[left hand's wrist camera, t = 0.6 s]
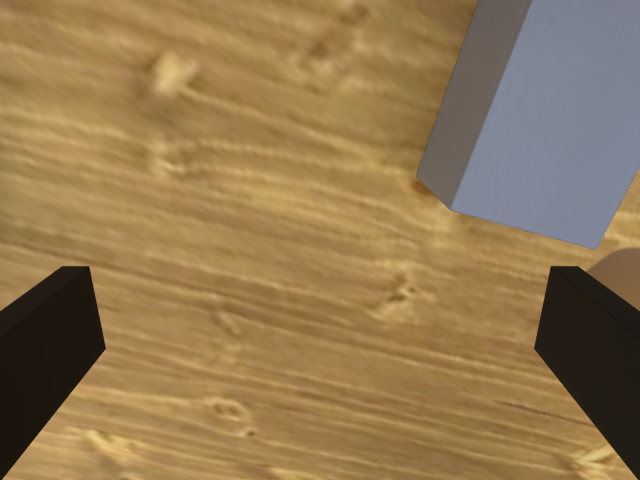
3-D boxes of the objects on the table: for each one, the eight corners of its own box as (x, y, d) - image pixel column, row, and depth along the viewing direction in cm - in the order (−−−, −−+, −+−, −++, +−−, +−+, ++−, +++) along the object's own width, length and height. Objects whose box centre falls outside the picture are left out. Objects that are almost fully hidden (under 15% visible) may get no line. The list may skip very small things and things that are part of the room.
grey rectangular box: (516, -108, 30) (609, -198, 21) (648, -62, 31) (797, -127, 22) (415, 176, 37) (449, 210, 28) (525, 207, 38) (596, 250, 29)
